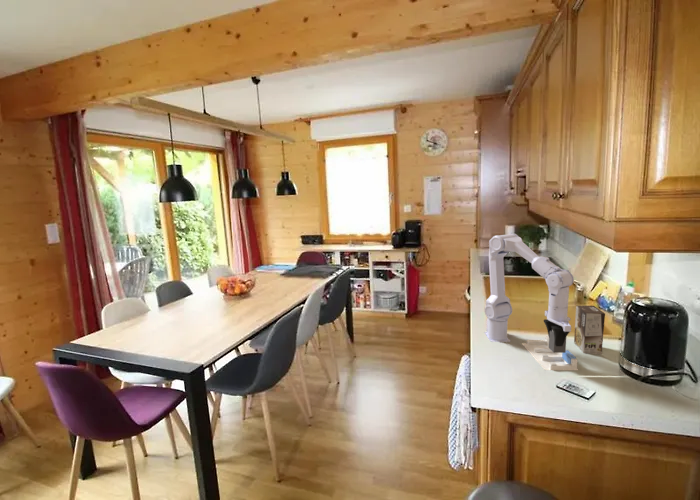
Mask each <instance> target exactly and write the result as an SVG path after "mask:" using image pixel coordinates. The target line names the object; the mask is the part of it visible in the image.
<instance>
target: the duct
mask: <svg viewBox="0 0 700 500" xmlns="http://www.w3.org/2000/svg"><path fill="white" fill-rule="evenodd" d="M521 344H522V346H523V347H524V348H525V349H526V350H527V352H528V353H529V354H531V356H532V357H533V359H535V361H536V363H538V364H539V366H540V367H542V369H543V370H544V371H579V369H578V359H577V356H575V355H574V354H573V353H572V352H570V350H569V349H568V350H567V349H566V350H565V353H554V352H553V351H552V350H551V349H549V335H548V334H546V335H545V339H527V340H526V342H521Z"/></svg>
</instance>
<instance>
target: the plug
mask: <svg viewBox="0 0 700 500" xmlns="http://www.w3.org/2000/svg"><path fill="white" fill-rule="evenodd" d="M566 345H567V337H566V338H565V341H564V344H563V346H556V345H555V339H554V333H553V330H550V334H549V349H551V350H552V351H553V352H554V353H565V350H567V349H566V348H567V346H566Z"/></svg>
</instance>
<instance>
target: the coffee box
mask: <svg viewBox="0 0 700 500" xmlns="http://www.w3.org/2000/svg"><path fill="white" fill-rule="evenodd" d="M605 316H606V313H605V312H604V311H602V310H601V309H599V308H598V307H596V306H595V305H576V306H575V320H574V321H575V323H574V337H573V338H574V340H573V344H574V345H575V346H576V347H577V348H578V349H579V350H580V351H581V352H582V353H583V354H590V355H591V354H593V355H595V354H596V355H598V354H599V355H602V353H603V344H604V343H603V342H604V341H603V340H604V333H605V332H604V330H605V322H606V321H605V319H606V317H605Z"/></svg>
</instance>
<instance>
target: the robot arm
mask: <svg viewBox="0 0 700 500" xmlns="http://www.w3.org/2000/svg"><path fill="white" fill-rule="evenodd" d="M488 244H489V249H488V267H489V283H490V286H489V287H490V295H489V297H488V298H487V299H486V300H485V307H484V315H485V316H486V317H487V319H486V331H484V332H483V333H484V335H485V336H486V337H487V339H488V340H489V341H490V342H492V343H493V342H495V343H499V342H500V343H501V342H502V343H503V342H505V343H506V342H507V343H508V342H511V339H510V338H509V337H508V322H509V321H508V319H510V316H511V315H512V313H513V306H512V304H511V299H510V298H509V297H508V296H507V295H506V284H505V283H506V281H505V267H504V266H505V265H504V264H505V262H504V257H505V256H507V254H509V253H510V252H513V253H516V254H517V255H519V256H521V257H522V258H523V259H525V260H526V261H527V262H529V263H530V264H531V269H532V270H534V271H535V272H536V273H537V274H538V275H540V277H542V278H543V279H544V280H545V283H546V285H547V288H548V307H547V308H548V309H547V310H544V316H545V317H546V319H543V323H544V324H545V327H546V329H547V335H549V334H550V330H553V333H554V339H555V345H556V346H563V344H564V341H565V338H566V339H567V336H568V335H569V334H570V332H572V325H571V324H570V321H571V318H570V316H568V313H569V312H568V310H569V309H568V308H569V294H570V287H571V286H572V285H573V283H574V282H575V281H574V278H575V277H574V276H573V274H572V272H571V271H570V270H568V269H564V268H561V267H560V266H558V265H556V264H555V263H554V262H552V261H551V260H550V258H549V257H548V256H541V255H540V256H539V254H537V253H536V252H534V251H533V249H531V248H530V247H529V246H528V245H527V244H526V243H524V242H523V239H522V237H520V236H519V235H518V234H516V233H514V232H513V233H507V234H500V235H499V234H497V235H493V236H492V237H491V239H489V241H488Z"/></svg>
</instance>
